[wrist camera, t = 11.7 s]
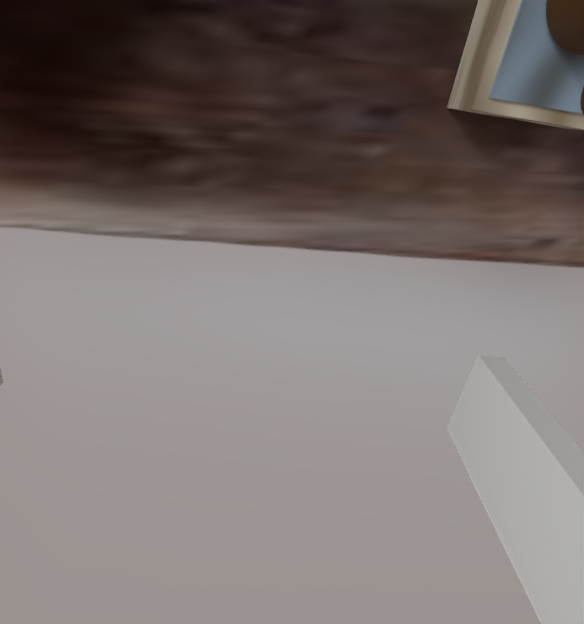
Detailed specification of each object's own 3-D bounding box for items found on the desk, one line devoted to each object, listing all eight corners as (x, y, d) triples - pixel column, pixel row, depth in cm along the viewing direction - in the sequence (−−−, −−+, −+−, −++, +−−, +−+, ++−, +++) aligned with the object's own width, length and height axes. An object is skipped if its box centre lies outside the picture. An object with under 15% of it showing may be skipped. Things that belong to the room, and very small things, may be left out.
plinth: (446, 107, 36) (473, 109, 31) (497, -65, 31) (541, -98, 26) (569, 129, 37) (616, 134, 32) (640, -35, 32) (710, -61, 27)
